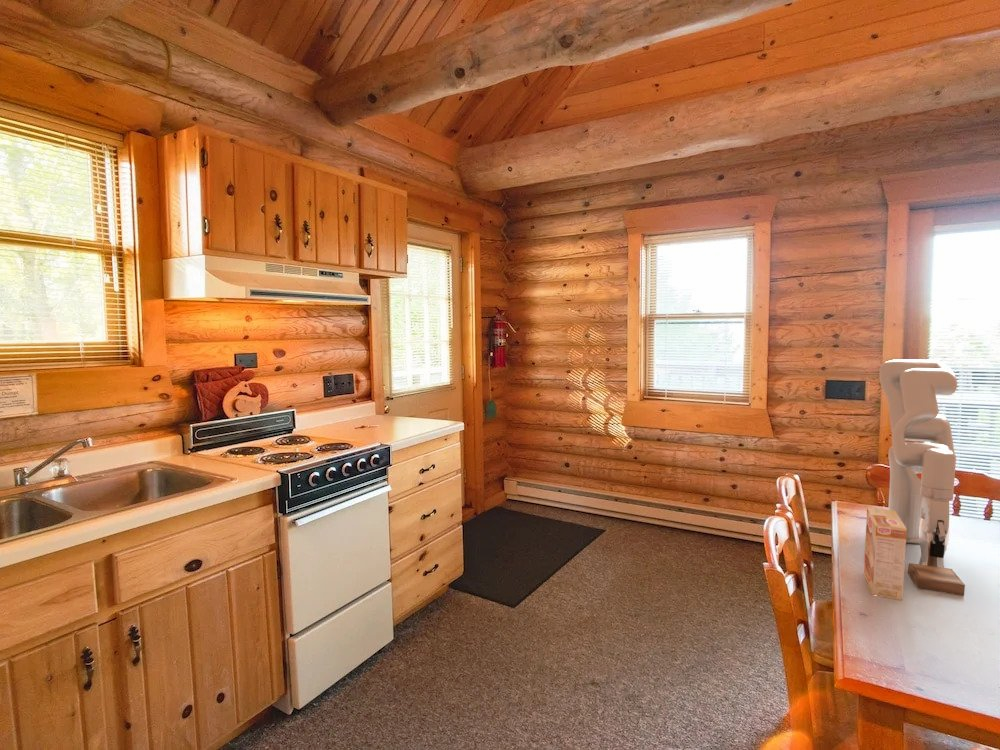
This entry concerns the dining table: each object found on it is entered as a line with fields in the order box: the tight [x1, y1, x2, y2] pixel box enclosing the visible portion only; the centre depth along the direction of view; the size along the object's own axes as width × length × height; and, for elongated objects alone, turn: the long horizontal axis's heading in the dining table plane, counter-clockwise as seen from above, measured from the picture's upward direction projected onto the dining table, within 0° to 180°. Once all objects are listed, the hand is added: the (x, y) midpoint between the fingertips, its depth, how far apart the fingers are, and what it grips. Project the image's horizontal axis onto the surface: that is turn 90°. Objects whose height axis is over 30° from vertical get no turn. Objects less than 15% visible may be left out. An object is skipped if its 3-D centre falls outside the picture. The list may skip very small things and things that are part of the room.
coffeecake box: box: [863, 507, 907, 601], centre depth 151 cm, size 15×7×20 cm, turn 154°
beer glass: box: [918, 516, 950, 568], centre depth 161 cm, size 7×7×15 cm
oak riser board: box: [907, 562, 966, 597], centre depth 153 cm, size 10×10×3 cm
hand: (932, 551), depth 162 cm, fingers closed on beer glass, 6 cm apart
